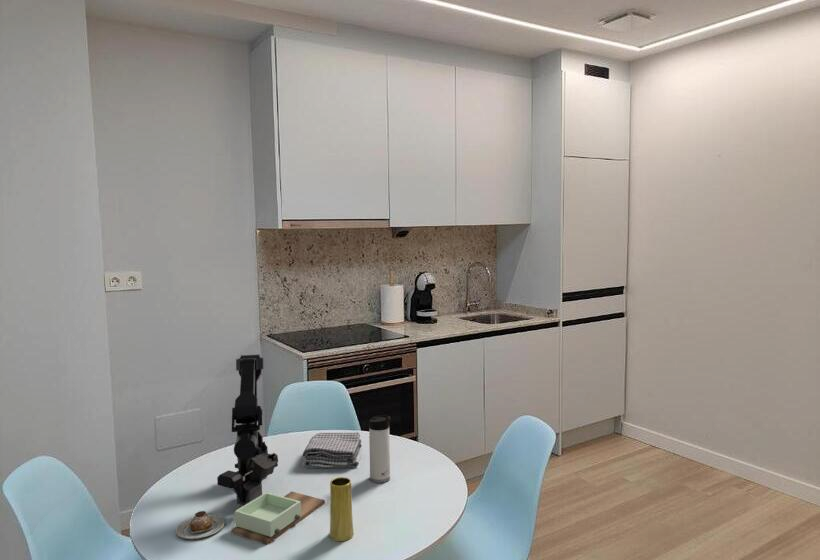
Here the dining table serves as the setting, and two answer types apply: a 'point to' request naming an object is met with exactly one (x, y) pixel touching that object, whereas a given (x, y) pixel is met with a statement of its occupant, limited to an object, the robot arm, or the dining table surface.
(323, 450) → the towel
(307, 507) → the track
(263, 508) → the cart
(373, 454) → the travel mug
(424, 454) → the dining table surface
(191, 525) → the pastry
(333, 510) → the vase
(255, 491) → the block
